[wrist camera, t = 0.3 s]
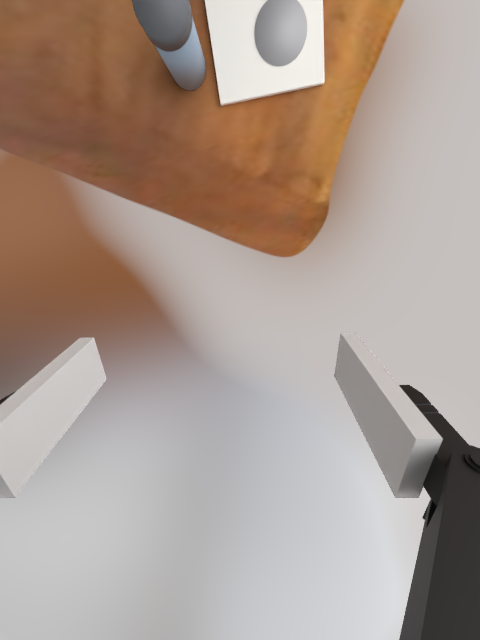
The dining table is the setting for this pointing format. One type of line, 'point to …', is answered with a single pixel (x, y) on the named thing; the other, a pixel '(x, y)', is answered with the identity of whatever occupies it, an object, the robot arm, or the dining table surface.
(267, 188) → the dining table surface
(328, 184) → the dining table surface
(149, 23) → the capped blue-grey cylinder
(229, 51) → the white flat plate
